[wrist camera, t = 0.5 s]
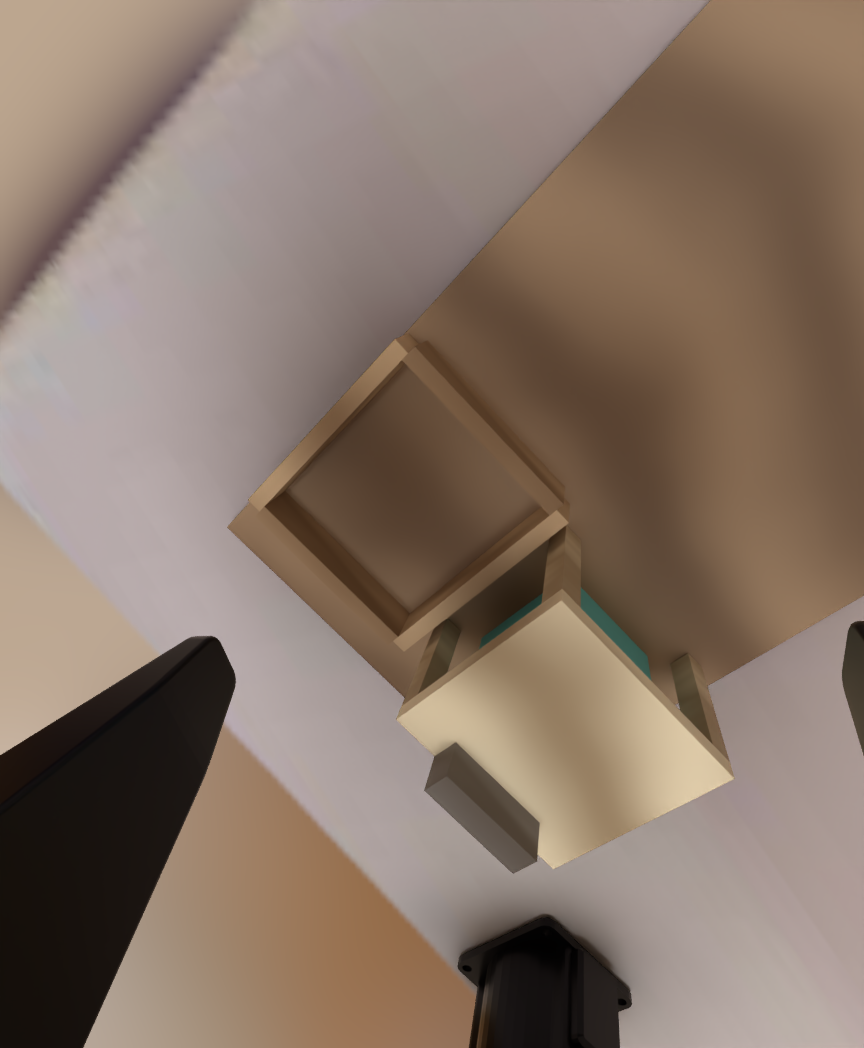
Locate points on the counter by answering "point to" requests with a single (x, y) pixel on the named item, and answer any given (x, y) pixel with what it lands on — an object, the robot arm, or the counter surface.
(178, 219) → the counter surface
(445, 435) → the board
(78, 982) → the robot arm
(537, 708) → the bridge
